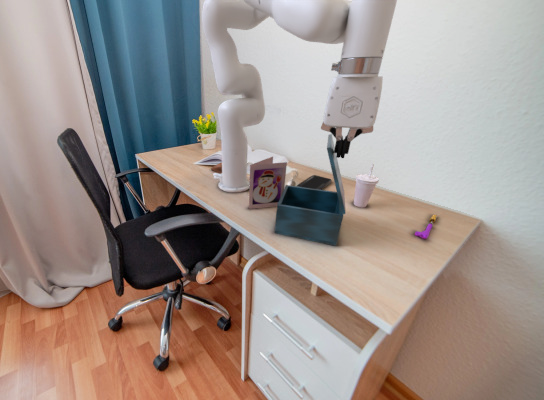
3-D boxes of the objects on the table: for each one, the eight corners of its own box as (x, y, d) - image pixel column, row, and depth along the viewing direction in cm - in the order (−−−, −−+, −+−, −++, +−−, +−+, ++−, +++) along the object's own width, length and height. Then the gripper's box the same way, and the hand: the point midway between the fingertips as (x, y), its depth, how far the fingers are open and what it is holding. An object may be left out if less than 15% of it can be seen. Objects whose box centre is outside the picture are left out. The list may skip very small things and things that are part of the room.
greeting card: (249, 210, 77) (251, 165, 70) (244, 199, 84) (245, 158, 77) (283, 206, 79) (288, 163, 72) (275, 196, 85) (279, 155, 78)
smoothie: (373, 210, 76) (386, 168, 69) (351, 208, 77) (362, 167, 70) (367, 201, 81) (378, 161, 75) (347, 199, 82) (356, 160, 76)
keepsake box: (274, 233, 66) (277, 205, 62) (283, 209, 77) (286, 184, 73) (336, 246, 61) (343, 216, 56) (336, 219, 72) (342, 192, 68)
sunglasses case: (233, 159, 122) (239, 149, 118) (243, 168, 121) (249, 158, 116) (209, 169, 110) (214, 158, 106) (219, 179, 109) (225, 169, 104)
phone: (296, 185, 90) (313, 174, 100) (295, 188, 91) (313, 177, 100) (316, 191, 85) (332, 179, 95) (315, 194, 86) (332, 181, 96)
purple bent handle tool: (426, 240, 61) (437, 217, 71) (427, 236, 61) (437, 213, 71) (413, 237, 63) (426, 215, 73) (414, 233, 63) (426, 212, 73)
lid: (326, 148, 51) (330, 147, 51) (328, 134, 63) (331, 133, 62) (341, 214, 56) (345, 214, 56) (341, 191, 68) (344, 190, 67)
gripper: (318, 69, 48) (305, 157, 57) (406, 67, 43) (378, 164, 52) (320, 70, 55) (308, 149, 63) (397, 68, 49) (373, 154, 58)
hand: (340, 156), depth 57 cm, fingers closed
